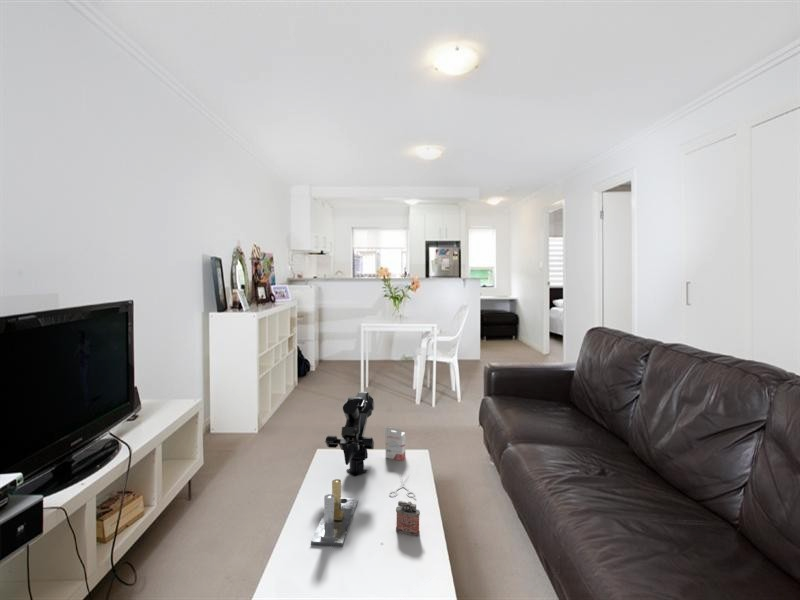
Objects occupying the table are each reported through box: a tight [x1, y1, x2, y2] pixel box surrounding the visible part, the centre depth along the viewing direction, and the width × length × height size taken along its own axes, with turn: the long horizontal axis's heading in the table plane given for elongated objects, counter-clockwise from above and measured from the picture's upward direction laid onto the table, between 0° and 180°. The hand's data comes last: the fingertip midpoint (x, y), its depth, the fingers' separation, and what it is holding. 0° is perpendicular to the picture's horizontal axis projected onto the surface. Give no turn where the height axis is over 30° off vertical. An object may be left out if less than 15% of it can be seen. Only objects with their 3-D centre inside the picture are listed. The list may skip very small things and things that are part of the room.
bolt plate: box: [310, 493, 359, 548], centre depth 133 cm, size 25×10×14 cm, turn 175°
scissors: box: [388, 474, 417, 501], centre depth 157 cm, size 11×1×20 cm
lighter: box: [395, 500, 421, 538], centre depth 127 cm, size 8×3×10 cm, turn 71°
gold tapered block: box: [331, 478, 344, 520], centre depth 133 cm, size 4×4×12 cm
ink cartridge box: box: [385, 426, 406, 461], centre depth 182 cm, size 9×5×15 cm, turn 68°
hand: (346, 464), depth 148 cm, fingers closed
